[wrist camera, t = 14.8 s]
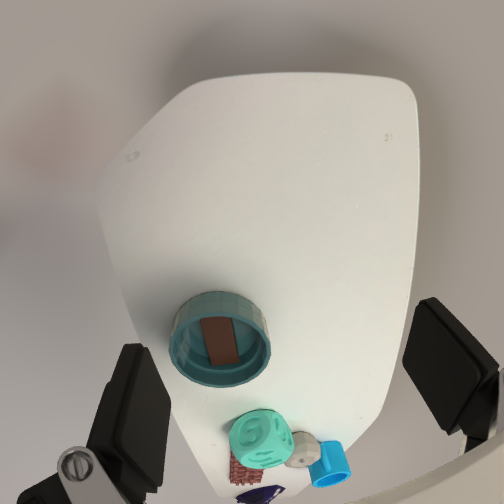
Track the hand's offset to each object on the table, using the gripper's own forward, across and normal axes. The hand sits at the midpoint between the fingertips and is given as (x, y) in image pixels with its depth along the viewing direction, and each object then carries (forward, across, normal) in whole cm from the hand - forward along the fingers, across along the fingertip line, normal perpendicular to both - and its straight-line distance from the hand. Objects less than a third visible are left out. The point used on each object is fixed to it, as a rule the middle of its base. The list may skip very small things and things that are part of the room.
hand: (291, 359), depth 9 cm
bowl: (+23, +5, +16) cm, 28 cm away
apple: (+22, -4, +45) cm, 51 cm away
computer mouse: (+22, +6, +78) cm, 81 cm away
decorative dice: (+23, +2, +38) cm, 44 cm away
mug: (+22, -10, +52) cm, 58 cm away
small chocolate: (+22, +5, +16) cm, 28 cm away
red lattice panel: (+22, +6, +55) cm, 60 cm away
